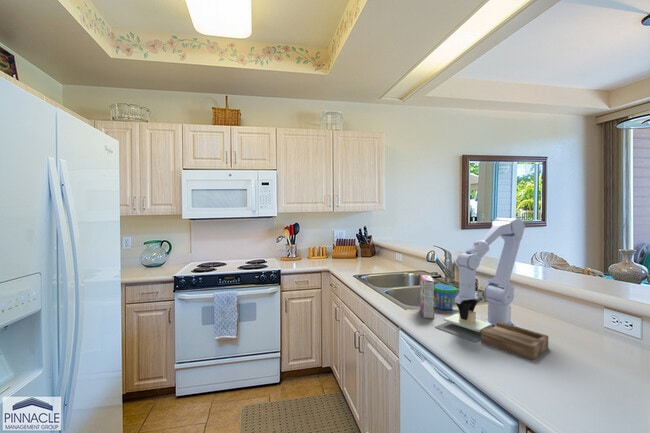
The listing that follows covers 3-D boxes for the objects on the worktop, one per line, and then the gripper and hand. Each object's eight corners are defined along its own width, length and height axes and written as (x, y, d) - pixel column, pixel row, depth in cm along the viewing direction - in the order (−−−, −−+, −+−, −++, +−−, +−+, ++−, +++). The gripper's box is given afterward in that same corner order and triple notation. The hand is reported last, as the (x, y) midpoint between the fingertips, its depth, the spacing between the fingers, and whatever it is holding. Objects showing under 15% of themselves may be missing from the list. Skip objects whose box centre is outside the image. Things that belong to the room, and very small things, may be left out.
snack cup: (458, 305, 147) (458, 284, 147) (464, 312, 137) (465, 290, 136) (424, 303, 150) (425, 283, 149) (428, 310, 139) (429, 288, 139)
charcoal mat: (458, 317, 130) (458, 317, 130) (497, 330, 117) (497, 329, 117) (434, 327, 119) (434, 326, 119) (475, 342, 106) (475, 341, 106)
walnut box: (498, 332, 115) (498, 321, 115) (548, 347, 103) (548, 335, 103) (480, 341, 107) (481, 330, 107) (532, 360, 94) (533, 347, 94)
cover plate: (456, 315, 126) (457, 304, 126) (491, 325, 115) (492, 313, 115) (443, 320, 120) (444, 308, 120) (479, 332, 109) (479, 319, 109)
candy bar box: (419, 309, 141) (420, 274, 140) (430, 310, 140) (431, 275, 139) (422, 318, 130) (423, 280, 129) (434, 319, 129) (435, 281, 128)
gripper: (467, 289, 110) (466, 325, 111) (486, 283, 119) (485, 317, 119) (449, 284, 116) (448, 319, 116) (468, 279, 125) (467, 312, 125)
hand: (466, 318), depth 118 cm, fingers closed on cover plate, 3 cm apart
